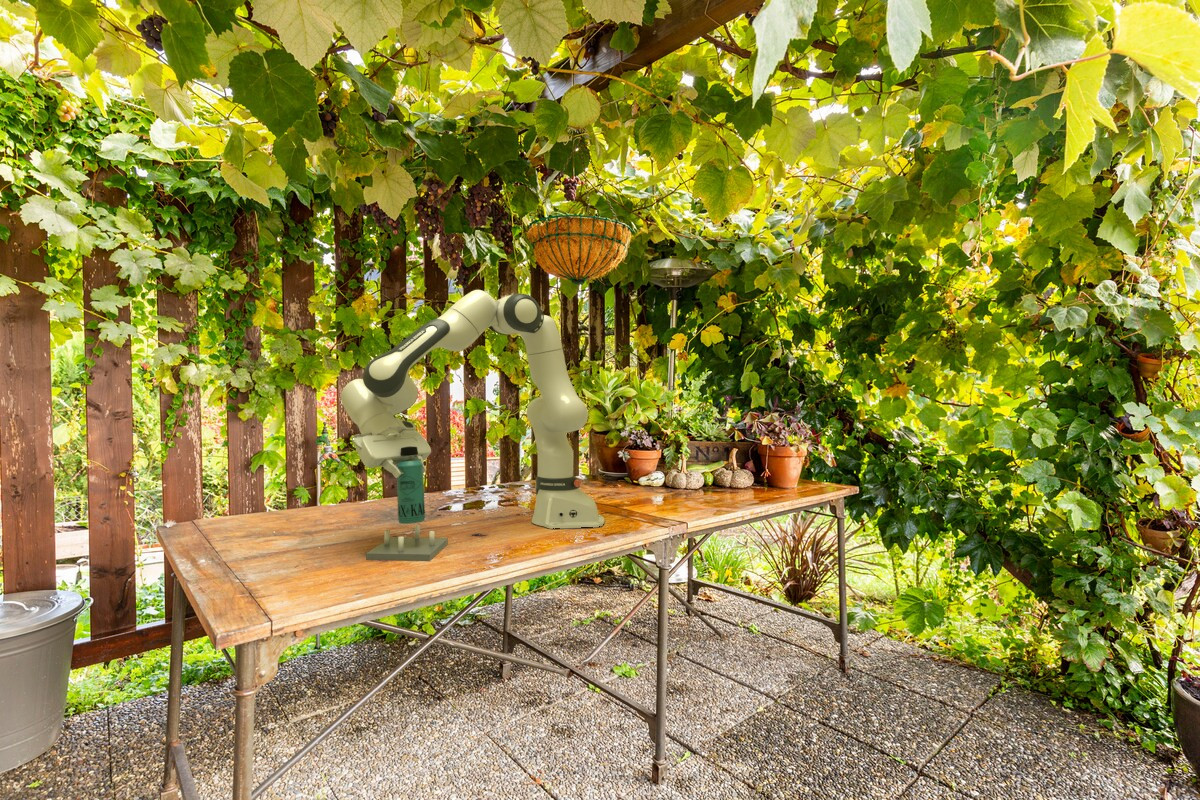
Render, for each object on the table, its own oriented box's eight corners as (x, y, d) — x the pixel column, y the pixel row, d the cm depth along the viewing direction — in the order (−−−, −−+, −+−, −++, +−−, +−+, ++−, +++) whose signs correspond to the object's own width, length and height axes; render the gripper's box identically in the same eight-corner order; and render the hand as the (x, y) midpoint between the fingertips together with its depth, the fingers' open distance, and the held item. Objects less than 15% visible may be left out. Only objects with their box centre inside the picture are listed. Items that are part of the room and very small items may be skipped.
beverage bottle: (397, 526, 139) (393, 447, 139) (425, 523, 141) (421, 444, 141) (398, 531, 133) (394, 448, 133) (427, 527, 135) (423, 446, 135)
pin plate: (448, 543, 145) (448, 524, 144) (429, 560, 130) (429, 539, 129) (390, 542, 145) (391, 523, 145) (366, 559, 130) (366, 538, 130)
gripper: (356, 426, 130) (386, 470, 126) (418, 422, 149) (446, 461, 145) (342, 444, 132) (371, 488, 128) (405, 438, 151) (432, 477, 147)
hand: (411, 474), depth 137 cm, fingers closed on beverage bottle, 6 cm apart
